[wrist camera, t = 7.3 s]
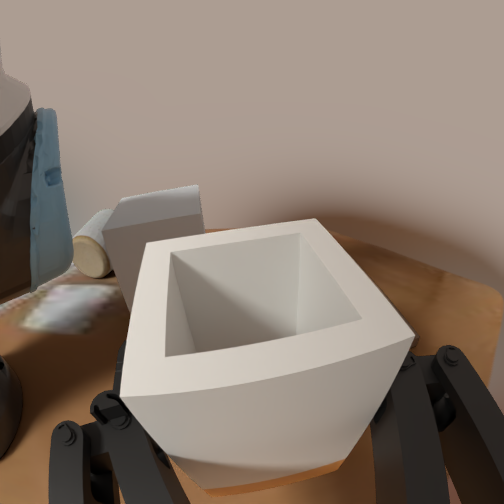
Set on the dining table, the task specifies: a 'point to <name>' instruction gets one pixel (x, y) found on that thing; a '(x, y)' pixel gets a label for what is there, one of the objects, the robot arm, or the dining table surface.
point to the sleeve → (258, 354)
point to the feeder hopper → (148, 229)
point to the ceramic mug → (92, 247)
